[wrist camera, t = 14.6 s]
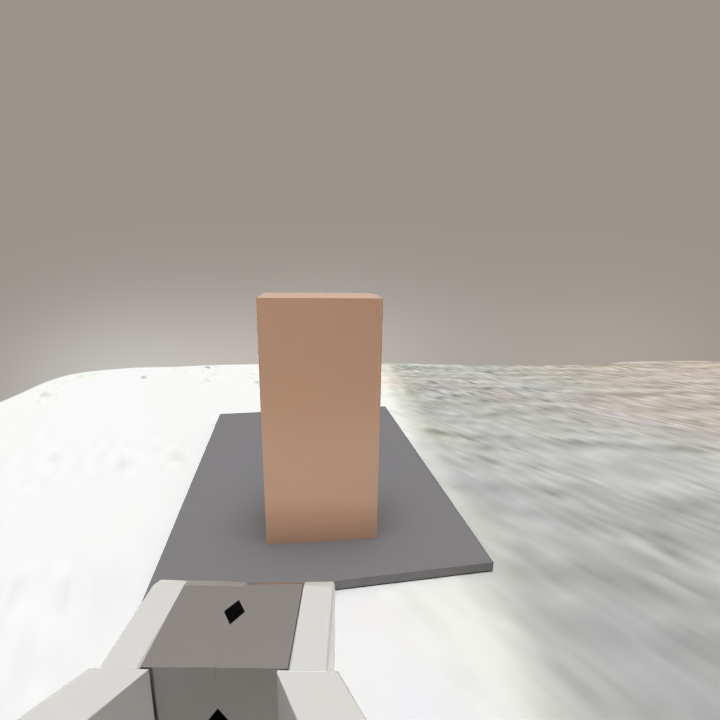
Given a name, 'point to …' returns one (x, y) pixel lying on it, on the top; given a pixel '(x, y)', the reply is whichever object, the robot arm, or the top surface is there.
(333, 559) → the mat
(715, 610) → the top surface
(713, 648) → the top surface
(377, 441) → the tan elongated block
